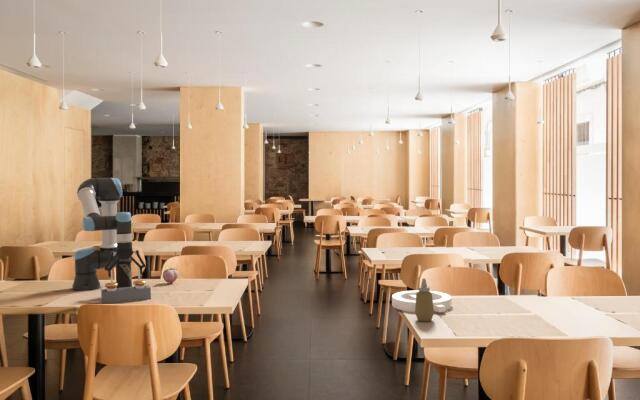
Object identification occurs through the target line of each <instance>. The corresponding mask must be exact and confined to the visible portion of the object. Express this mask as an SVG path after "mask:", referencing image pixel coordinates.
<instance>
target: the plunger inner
mask: <svg viewBox="0 0 640 400" xmlns="http://www.w3.org/2000/svg"><path fill="white" fill-rule="evenodd" d="M116 286H118V283H116V282H113V284H111V282H107V283H104V287H105V288H106V289H107V291H117V287H116Z"/></svg>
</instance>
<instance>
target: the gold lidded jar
mask: <svg viewBox="0 0 640 400" xmlns="http://www.w3.org/2000/svg"><path fill="white" fill-rule="evenodd" d="M146 284H147V280H145V279H140V281H138V279H137V280H134V281H132V285H134V286H135V289H138V288H145V285H146Z"/></svg>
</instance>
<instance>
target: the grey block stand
mask: <svg viewBox="0 0 640 400" xmlns="http://www.w3.org/2000/svg"><path fill="white" fill-rule="evenodd" d="M151 290H152V289H151V286H150V285H149V284H147V285H146V284H145V288H138V289H135V285H134V286H132V287H123V288H117V291H107V288H105V289H101V290H100V294H101V296H100V297H101V304H102V303H107V304H113V303H114V304H115V303H123V302H125V303H126V302H132V301H135V302H137V301H144V300H145V301H146V300H151V299H152V293H151Z"/></svg>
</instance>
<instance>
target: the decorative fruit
mask: <svg viewBox="0 0 640 400" xmlns="http://www.w3.org/2000/svg"><path fill="white" fill-rule="evenodd" d="M178 277H179V272H178V268H175V267H172V268H171V267H170V268H166V269H165V270H163V273H162V278H163V280H164V281H165V282H166V283H168V284H170V283H171V284H172V283H174V282H175V281H176V280H177V279H178Z"/></svg>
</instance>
